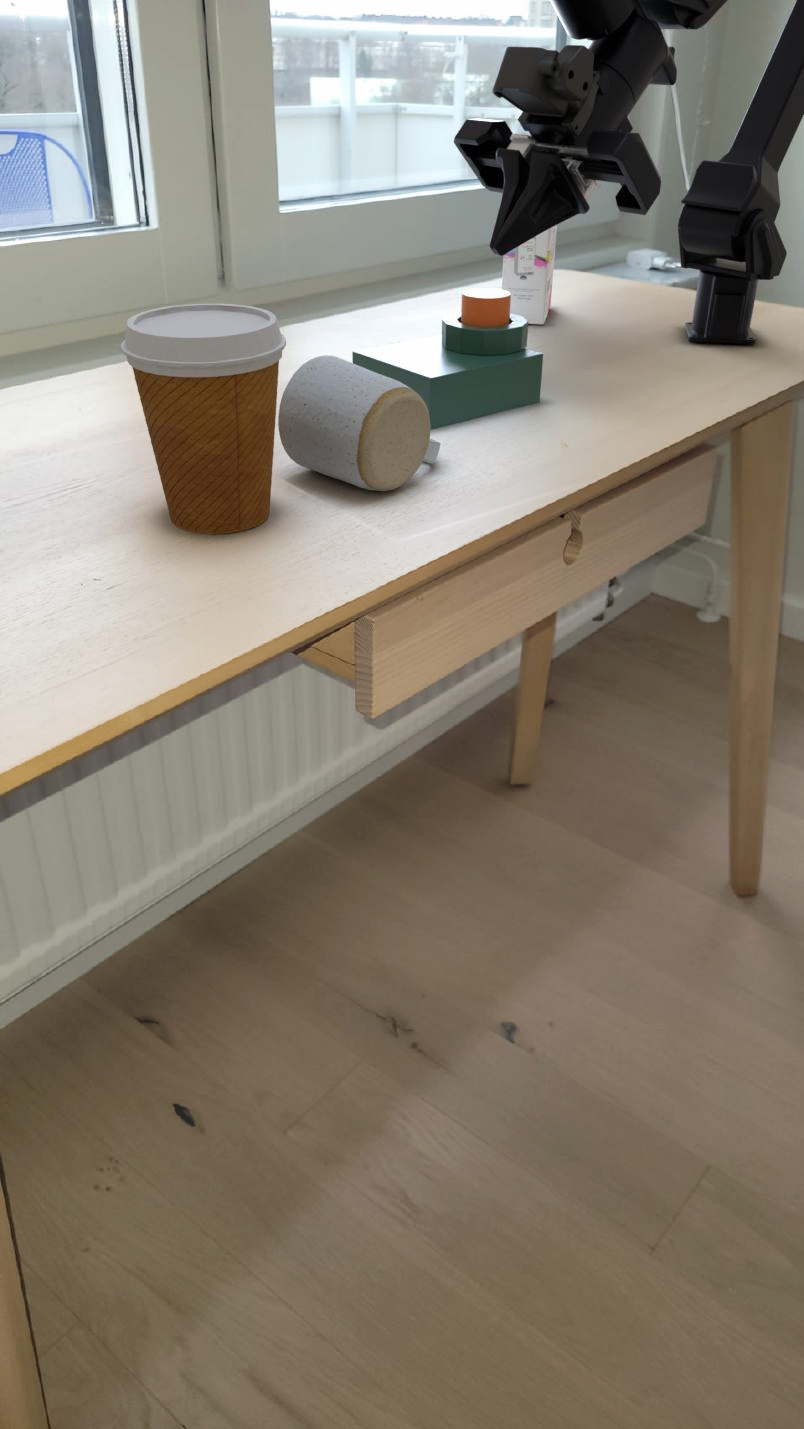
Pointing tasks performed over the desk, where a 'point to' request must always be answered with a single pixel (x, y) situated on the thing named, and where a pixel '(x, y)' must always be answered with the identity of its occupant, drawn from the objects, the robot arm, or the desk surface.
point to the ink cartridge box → (531, 276)
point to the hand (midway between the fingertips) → (495, 251)
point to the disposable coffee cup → (209, 408)
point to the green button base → (463, 369)
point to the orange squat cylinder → (485, 307)
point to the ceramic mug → (355, 424)
